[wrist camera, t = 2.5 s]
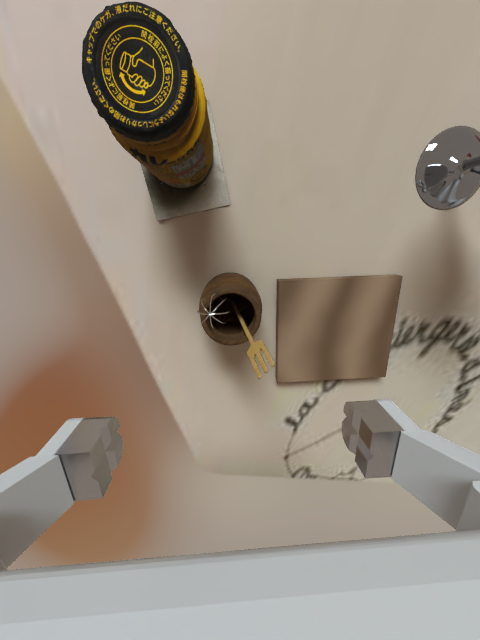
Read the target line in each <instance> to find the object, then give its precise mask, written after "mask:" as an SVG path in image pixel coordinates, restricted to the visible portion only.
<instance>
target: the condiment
mask: <svg viewBox="0 0 480 640" xmlns="http://www.w3.org/2000/svg"><path fill="white" fill-rule="evenodd" d="M82 74H83V78H84V82H85V84H86V87H87V90H88V93H89V95H90V97H91V101H92V103H93V104H94V106H95V107H96V109H97V110H98V114H99V116H101V117H102V118H104V119H105V121H106V122H107V124H108V125H109V128H110V130H111V132H112V134H113V135H114V137H115V138H116V140H117V141H118V142H119V143H120V145H121V146H122V147H123V148H124V149H125V150H126V151H128V152H129V153H130V154H131V155H132V156H133V157H134V158H135V159H137V160H138V161H139V162H140V163H141V166H142V170H143V174H144V177H145V181H146V184H147V187H148V190H149V194H150V197H151V200H152V204H153V208H154V211H155V214H156V218H157V221H159V220H164V219H169V218H173V217H178V216H182V215H187V214H191V213H195V212H200V211H204V210H208V209H213V208H217V207H221V206H226V205H230V200H229V195H228V190H227V185H226V180H225V176H224V170H223V166H222V161H221V156H220V151H219V146H218V142H217V137H216V132H215V127H214V122H213V117H212V112H211V108H210V103H209V100H206V97H205V93H204V88H203V85H202V82H201V79H200V78H199V76H198V74H197V72H196V70H195V68H194V67H193V65H192V60H191V56H190V53H189V52H188V48H187V47H186V45H185V43H184V41H183V39H182V38H181V36H180V34H179V33H178V32H177V31H176V29H175V28H174V26H173V25H172V23H171V21H170V20H169V19H168V18H167V17H166V16H165V15H164V14H162V13H161V12H159V11H158V10H156V9H155V8H152V7H150V6H147V5H145V4H142V3H139V2H125V3H119V4H113V5H111V6H106V7H105V9H104V10H103V12H101V13H100V14H98V15H97V16H96V17H95V18H94V20H93V21H92V23H91V26H90V27H89V29H88V31H87V35H86V37H85V38H84V40H83V51H82ZM205 181H206V184H204V182H205ZM161 183H162V184H161ZM203 186H205V187H204V189H202V187H203Z"/></svg>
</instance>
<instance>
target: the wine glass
mask: <svg viewBox="0 0 480 640" xmlns="http://www.w3.org/2000/svg"><path fill="white" fill-rule="evenodd" d="M416 186H417V190H418V193H419V195H420V197H421V198H422V200H423V201H424V202H425V203H426V204H427V205H429V206H431V207H433V208H436V209H450V208H453V207H456V206H458V205H460V204H462V203H464V202H465V201H467V200H468V199H469V198H470V197H471V196H472V195H473V194H474V193H475V192H476V191H477V190H478V188H479V187H480V132H478V131H477V130H475V129H474V128H471V127H468V126H455V127H452V128H448V129H446V130H444V131H442V132H441V133H440V134H438V135H437V136H436V137H434V138H433V139H432V140H431V141H430V143H429V144H428V145H427V146H426V148H425V149H424V151H423V153H422V155H421V157H420V159H419V162H418V165H417V169H416Z"/></svg>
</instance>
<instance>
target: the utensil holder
mask: <svg viewBox="0 0 480 640" xmlns="http://www.w3.org/2000/svg"><path fill="white" fill-rule="evenodd" d="M198 312H200V313H199V314H200V318H201V323H202V326H203V328H204V330H205V332H206V333H207V335H208V336H209V337H210V338H212V339H213V340H214V341H216V342H218V343H221V344H224V345H238V344H241V343H244V342H246V341H247V340H249V342H250V344H251V346H250V348H249V350H248V351H247V354H248V357H249V359H250V361H251V363H252V366H253V368H254V370H255V372H256V374H257V377H258V378H259V379H261V378H262V374H261V372H260V370H259V368H258V365H257V363H256V361H255V356H257V358H258V360H259V362H260V364H261V366H262V368H263V370H264V372H265V373H267V372H268V368H267V366H266V364H265V362H264V360H263V358H262V355H261V353H260V352H261V351H263V352H264V354H265V356H266V358H267V360H268V362H269V363H270V365H271V367H274V366H275V363H274V361H273V359H272V357H271V356H270V354H269V352H268V350H267V348H266V346H265V344H264V343H263V341H261V340H258V341H256V342H255V341H254V340H253V338H252V336H253V335H254V334H255V333H256V331H257V330H258V328H259V325H260V322H261V314H262V303H261V299H260V296H259V293H258V291H257V290H256V288H255V286H254V285H253V283H252V282H251V281H250V280H249V279H248V278H246V277H245V276H243V275H240V274H237V273H223V274H220V275H218V276H216V277H214V278H213V279H212V280H211V281H210V282H209V283H208V284H207V286H206V287H205V289H204V291H203V293H202V296H201V299H200V304H199V311H198ZM198 312H197V313H198Z"/></svg>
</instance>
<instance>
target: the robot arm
mask: <svg viewBox="0 0 480 640" xmlns="http://www.w3.org/2000/svg"><path fill="white" fill-rule="evenodd" d="M343 412H344V413H345V415H346V416H347V417H346V418H345V419H344V420H343V422H342V435H343V439H344V442H345V444H346V446H347V448H348V450H350V451H351V452H353V453H354V454H356V456H355V462H356V463H357V465H358V467H359V468H360V470H361V472H362V474H363V475H364V477H365V478H381V477H391V479H393V480H394V481H395V482H396V483H398V484H399V485H400V486H402V487H403V488H404V489H405V490H406V491H408V492H409V493H410V494H412V495H413V496H414V497H415V498H417V499H418V500H419V501H420V502H422V503H423V504H424V505H426V506H427V507H428V508H429V509H430V510H432V511H433V512H434V513H436V514H437V515H438V516H439V517H441V518H442V519H443V520H444V521H446V522H447V523H448V524H449V525H451V526H452V527H453V528H454V529H456V531H454V532H444V533H431V534H420V535H408V536H397V537H386V538H374V539H363V540H351V541H340V542H328V543H316V544H305V545H293V546H283V547H271V548H259V549H248V550H236V551H226V552H214V553H203V554H191V555H180V556H167V557H156V558H144V559H132V560H121V561H109V562H97V563H86V564H75V565H62V566H51V567H39V568H28V569H16V570H7V567H8V566H10V565H11V564H12V562H14V561H15V560H16V559H17V558H18V557H19V556H20V555H21V554H22V553H23V552H24V551H25V550H26V549H27V548H28V547H29V546H30V545H31V544H32V543H33V542H34V541H35V540H36V539H37V538H38V537H40V535H42V534H43V533H44V532H45V531H46V530H47V529H48V528H49V527H50V526H51V525H52V524H53V523H54V522H55V521H56V520H57V519H58V518H59V517H60V516H61V515H62V514H63V513H64V512H65V511H66V510H67V509H68V508H70V507H71V506H72V505H73V504H74V501H81V500H90V499H100V498H103V497H104V495H105V492H106V490H107V488H108V486H109V484H110V482H111V480H112V475H111V472H112V471H113V470H114V469H115V468H116V467H118V465H119V463H120V460H121V458H122V453H123V439H122V436H121V435H120V434H118V433H117V430H118V428H119V422H118V419H117V418H116V417H93V418H92V417H90V418H72V419H70V420H67V421H66V422H65V423H64V424H63V426H62V427H61V428H60V429H59V430H58V431H57V432H56V434H55V435H54V436H53V437H52V438H51V439H50V440H49V442H48V443H47V444H46V445H45V446H44V447H43V448H42V450H41V451H40V452H39V453H38V454H37V455H36V456H35V457H29V458H28V459H26V460H24V461H23V462H21V463H19V464H18V465H16V466H14V467H12V468H11V469H9V470H8V471H6V472H4V473H2V474H1V475H0V640H480V455H479V454H477V453H475V452H473V451H470V450H468V449H466V448H464V447H462V446H460V445H458V444H455V443H453V442H451V441H449V440H447V439H445V438H443V437H440V436H438V435H436V434H434V433H432V432H430V431H427V430H421V429H420V428H419V427H418V426H417V425H416V424H415V423H414V422H413V421H412V420H411V419H410V418H409V417H408V416H407V415H406V414H404V413H403V412H402V411H401V410H400V409H399V408H398V407H397V406H396V405H395V404H394V403H393V402H392V401H391V400H389V399H377V400H370V401H355V402H346V403H345V405H344V411H343Z"/></svg>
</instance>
